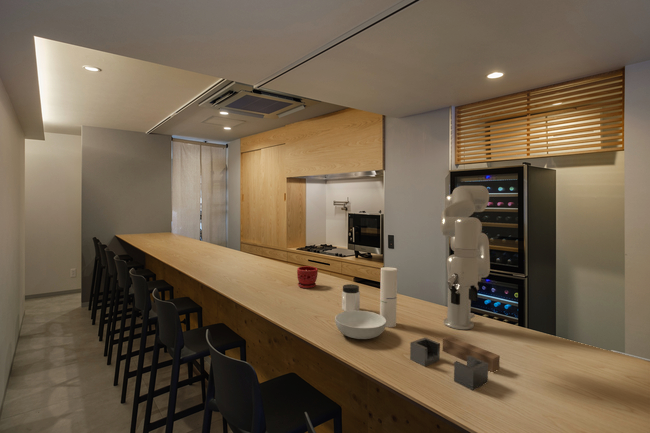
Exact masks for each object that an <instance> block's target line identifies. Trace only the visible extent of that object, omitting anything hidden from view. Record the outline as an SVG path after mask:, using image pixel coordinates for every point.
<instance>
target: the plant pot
mask: <svg viewBox="0 0 650 433" xmlns="http://www.w3.org/2000/svg"><path fill="white" fill-rule="evenodd" d="M296 270H297V271H296V272H297V280H298V282H297V285H298V287H299V288H301V289H302V288H303V289H312V288H314V287H316V285H317V283H316V282H317V278H318V272H319V271H318V267H316V266H315V267H314V266H308V265H307V266H306V265H305V266H299V267H297V269H296Z"/></svg>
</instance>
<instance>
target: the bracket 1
mask: <svg viewBox="0 0 650 433" xmlns="http://www.w3.org/2000/svg"><path fill="white" fill-rule="evenodd" d="M409 344H410V349H409V350H410V351H409V357H410V358H409V360H410V361H412V362H415V363H417V364H418V365H421V366H423V367H427V366H429V365H431V364H435V363H436V362H439V361H441V360H440V354H441V352H440V351H441V344H440V342H439V341H435V340H433V339H430V338H428V337H423V338H419V339H417V340H414V341H411V342H410V343H409Z"/></svg>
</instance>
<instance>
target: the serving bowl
mask: <svg viewBox="0 0 650 433" xmlns="http://www.w3.org/2000/svg"><path fill="white" fill-rule="evenodd" d="M334 321H335V326H336V328H337V329H338V331H339V332H340V333H341V334H343V335H344V336H346V337H348V338H351V339H357V340H368V339H374V338H376V337H379V336H380V335H381V334H382V333H383V332H384V330H386V327H385V326H386V319H385V318H384V317H383V316H381V315H380V313H376V312H373V311H367V310H358V311H343V312H340V313H338V314H336V315H335V317H334Z"/></svg>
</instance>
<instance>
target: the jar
mask: <svg viewBox="0 0 650 433" xmlns="http://www.w3.org/2000/svg"><path fill="white" fill-rule="evenodd" d="M360 295H361V292H360V286H359V285H357V284H353V283H352V284H350V283H349V284H344V285H342V291H341V310H342V311H343V312H346V311H361V308H360V306H361V305H360V303H361V302H360V301H361V300H360V299H361V298H360V297H361V296H360Z"/></svg>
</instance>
